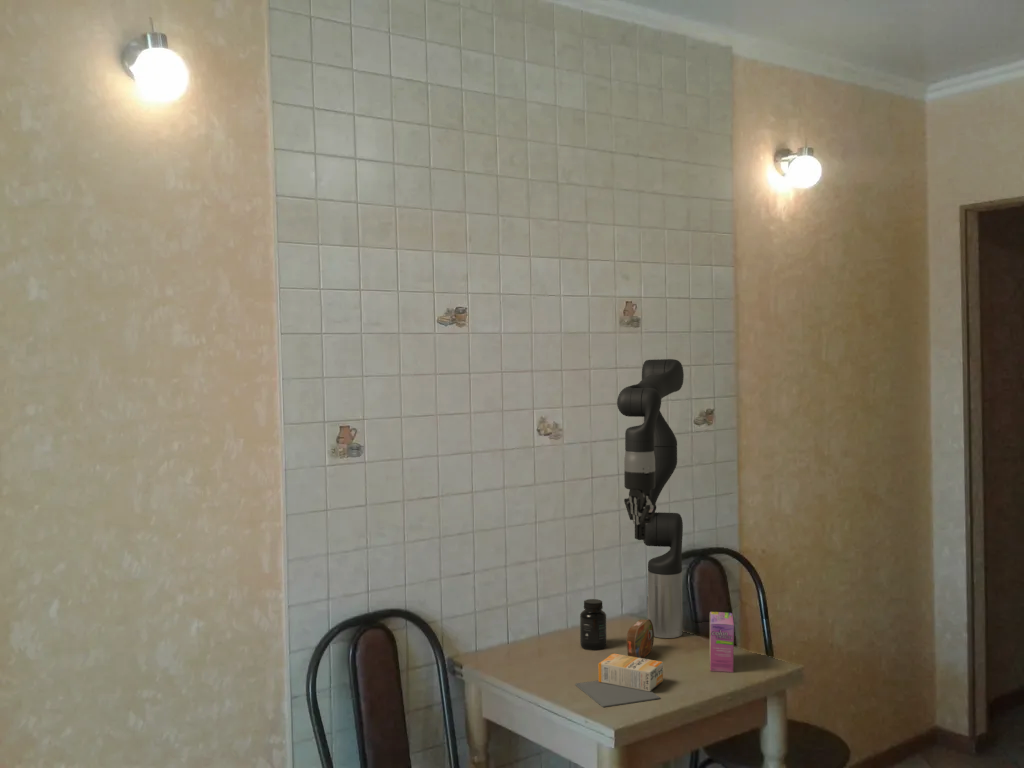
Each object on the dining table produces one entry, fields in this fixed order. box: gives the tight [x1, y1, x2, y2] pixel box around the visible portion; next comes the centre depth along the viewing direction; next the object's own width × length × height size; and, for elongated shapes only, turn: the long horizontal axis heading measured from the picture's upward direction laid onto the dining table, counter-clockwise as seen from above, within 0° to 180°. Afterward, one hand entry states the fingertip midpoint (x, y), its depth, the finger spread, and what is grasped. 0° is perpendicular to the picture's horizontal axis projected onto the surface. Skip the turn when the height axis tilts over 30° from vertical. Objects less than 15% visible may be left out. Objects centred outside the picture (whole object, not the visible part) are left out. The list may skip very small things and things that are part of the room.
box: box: [709, 611, 735, 674], centre depth 229 cm, size 10×6×12 cm, turn 168°
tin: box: [625, 619, 655, 659], centre depth 238 cm, size 15×3×8 cm, turn 154°
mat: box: [574, 679, 661, 708], centre depth 212 cm, size 15×14×1 cm
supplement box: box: [597, 653, 664, 692], centre depth 218 cm, size 8×5×13 cm
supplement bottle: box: [579, 598, 607, 651], centre depth 245 cm, size 7×7×12 cm
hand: (640, 539), depth 230 cm, fingers closed
